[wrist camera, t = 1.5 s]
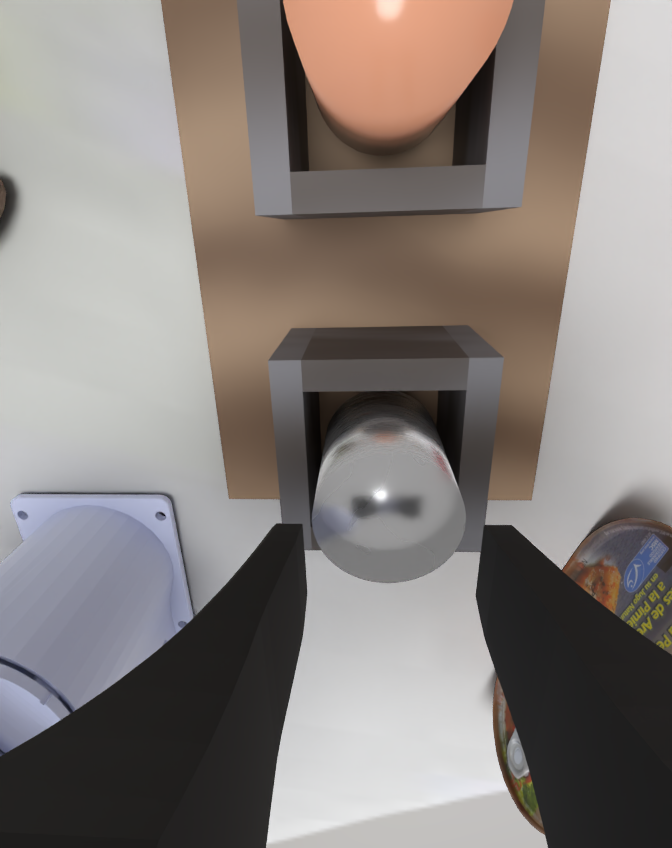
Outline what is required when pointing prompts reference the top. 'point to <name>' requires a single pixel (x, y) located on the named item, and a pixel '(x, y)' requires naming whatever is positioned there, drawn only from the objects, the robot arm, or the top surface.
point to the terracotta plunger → (391, 63)
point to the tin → (623, 595)
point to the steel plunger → (386, 490)
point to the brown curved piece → (2, 197)
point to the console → (381, 247)
